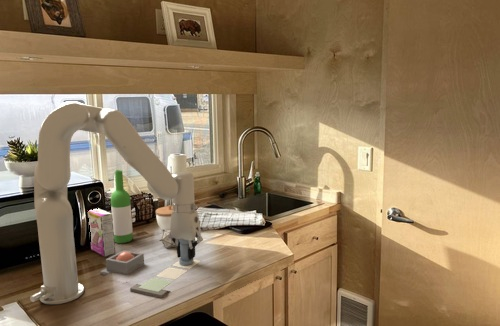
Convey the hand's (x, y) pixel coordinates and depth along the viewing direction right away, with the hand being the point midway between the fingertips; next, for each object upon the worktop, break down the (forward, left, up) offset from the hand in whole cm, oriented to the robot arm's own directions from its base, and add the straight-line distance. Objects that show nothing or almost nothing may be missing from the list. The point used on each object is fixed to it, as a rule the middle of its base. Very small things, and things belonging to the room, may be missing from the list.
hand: (186, 256), depth 148 cm
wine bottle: (+12, +39, -4) cm, 41 cm away
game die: (+12, +15, -4) cm, 20 cm away
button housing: (-11, +18, -3) cm, 21 cm away
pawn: (0, 0, -2) cm, 2 cm away
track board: (-9, 0, -3) cm, 10 cm away
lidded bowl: (+32, +29, -4) cm, 43 cm away
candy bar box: (-1, +38, -4) cm, 38 cm away
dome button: (-11, +18, -2) cm, 21 cm away
